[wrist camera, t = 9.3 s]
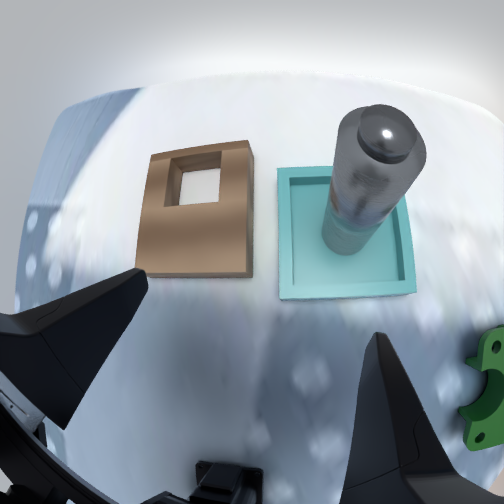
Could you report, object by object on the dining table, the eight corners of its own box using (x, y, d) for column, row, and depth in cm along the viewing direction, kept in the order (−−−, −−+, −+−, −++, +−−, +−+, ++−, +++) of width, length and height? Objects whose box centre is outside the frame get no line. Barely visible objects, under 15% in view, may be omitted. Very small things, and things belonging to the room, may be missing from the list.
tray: (405, 294, 21) (416, 292, 19) (281, 300, 23) (279, 298, 20) (391, 179, 23) (398, 166, 21) (279, 181, 25) (277, 168, 23)
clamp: (454, 345, 22) (482, 311, 16) (496, 339, 20) (530, 304, 13) (448, 451, 16) (481, 456, 9) (494, 441, 13) (536, 437, 7)
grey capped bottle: (356, 263, 21) (425, 187, 8) (313, 242, 22) (325, 141, 9) (373, 222, 22) (439, 117, 9) (332, 202, 23) (355, 80, 10)
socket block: (252, 277, 24) (245, 272, 21) (151, 277, 26) (134, 272, 23) (253, 157, 27) (248, 140, 24) (163, 168, 28) (151, 154, 25)
